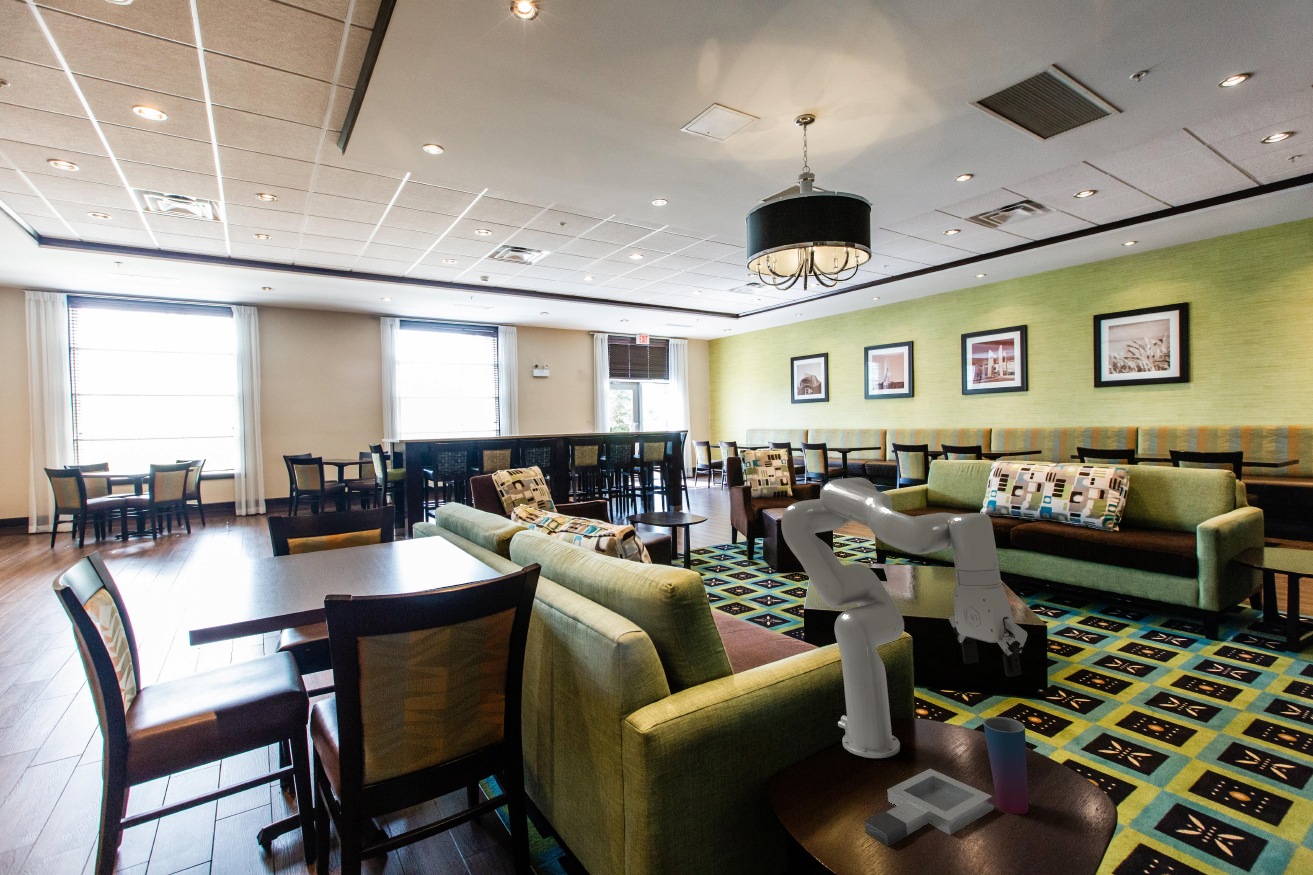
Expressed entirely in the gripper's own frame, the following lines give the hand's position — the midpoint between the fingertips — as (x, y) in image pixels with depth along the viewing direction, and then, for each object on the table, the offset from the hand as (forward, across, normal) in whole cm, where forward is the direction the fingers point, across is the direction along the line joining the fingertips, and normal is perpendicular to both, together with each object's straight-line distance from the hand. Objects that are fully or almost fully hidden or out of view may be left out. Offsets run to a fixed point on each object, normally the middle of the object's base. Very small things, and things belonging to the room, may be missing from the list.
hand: (991, 668), depth 113 cm
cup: (+25, 0, 0) cm, 25 cm away
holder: (+25, -5, -17) cm, 30 cm away
